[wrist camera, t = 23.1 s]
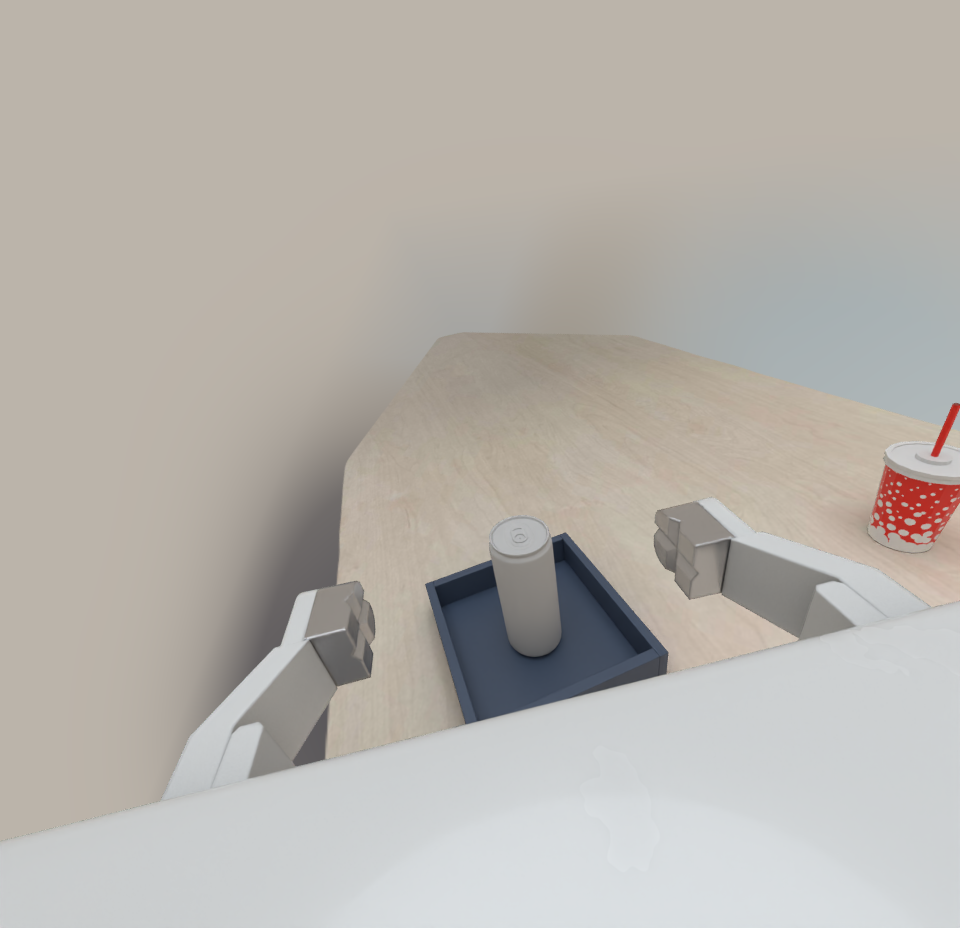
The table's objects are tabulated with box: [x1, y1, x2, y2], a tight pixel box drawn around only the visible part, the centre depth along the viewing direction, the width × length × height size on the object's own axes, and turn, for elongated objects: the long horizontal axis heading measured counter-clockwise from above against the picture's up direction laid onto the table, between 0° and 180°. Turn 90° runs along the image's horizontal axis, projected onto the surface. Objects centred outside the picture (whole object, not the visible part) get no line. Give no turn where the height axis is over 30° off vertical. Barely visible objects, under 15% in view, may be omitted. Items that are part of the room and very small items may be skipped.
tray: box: [425, 533, 668, 724], centre depth 36 cm, size 16×16×4 cm
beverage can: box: [489, 515, 562, 657], centre depth 34 cm, size 5×5×12 cm
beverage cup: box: [867, 403, 960, 553], centre depth 37 cm, size 6×6×14 cm
